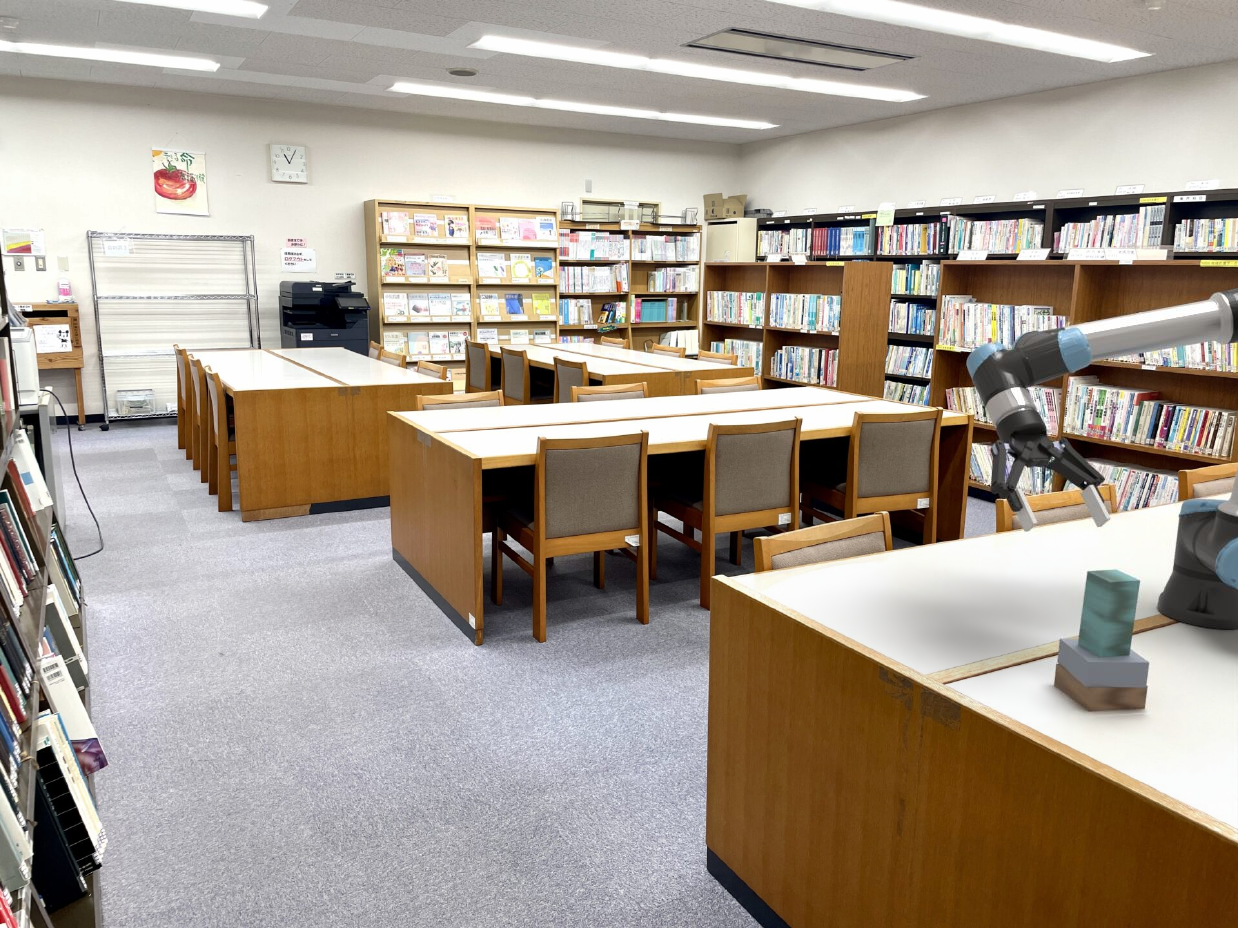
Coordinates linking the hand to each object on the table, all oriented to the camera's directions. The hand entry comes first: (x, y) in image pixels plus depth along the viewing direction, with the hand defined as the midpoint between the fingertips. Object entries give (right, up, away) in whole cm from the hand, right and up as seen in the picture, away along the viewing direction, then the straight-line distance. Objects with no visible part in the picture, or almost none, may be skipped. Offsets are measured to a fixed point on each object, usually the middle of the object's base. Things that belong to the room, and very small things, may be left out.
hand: (1068, 525), depth 143 cm
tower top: (+2, -23, -6) cm, 24 cm away
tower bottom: (+2, -27, -6) cm, 27 cm away
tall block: (+2, -19, -7) cm, 20 cm away
